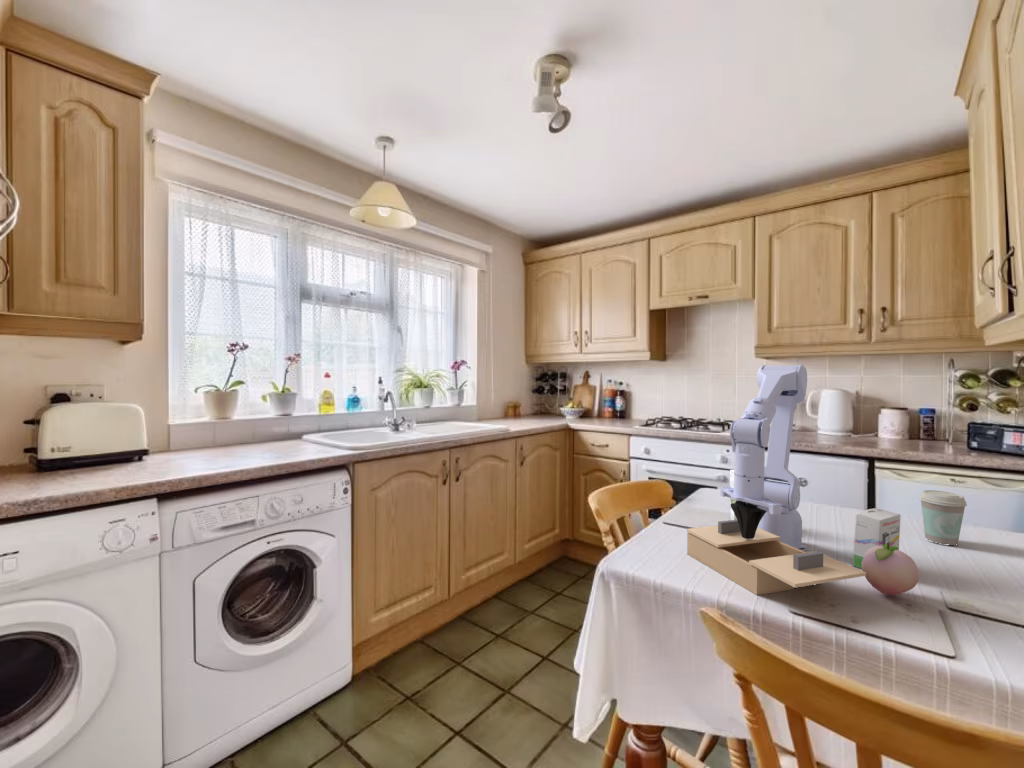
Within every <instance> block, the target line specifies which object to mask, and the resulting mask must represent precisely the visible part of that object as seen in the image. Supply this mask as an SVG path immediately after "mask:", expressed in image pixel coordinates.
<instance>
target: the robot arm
mask: <svg viewBox="0 0 1024 768" xmlns="http://www.w3.org/2000/svg"><path fill="white" fill-rule="evenodd" d="M756 376H757V377H756V381H757V386H758V388H759V390H758V393H757V396H755V397H754V398H752V399H750V401H749V402H748V404H747V406H746V407H745V410H744V411H743V412H742V415H741V417H740V418H737V419H736V420H733V421H732V423H731V426H730V432H729V436H730V437H729V438H730V442H731V450H732V452H733V453H734V462H733V463H734V466H733V468H734V469H733V470H734V488H730V486H723V487H720V493H719V494H720V496H721V497H727V498H729V499H730V498H731V499H733V500H736V502H735V503H732V504H731V508H732V510H733V511H734V513H735V515H736V518H737V520H738V523H739V527H740V531H741V535H742V537H743V538H745V539H753V538H754V536H755V533H756V530H757V528H760V529H762V530H764V531H767V532H769V533H772V534H774V535H777V536H779V537H780V540H778V541H780V542H783V543H785V544H787V545H790V546H792V547H794V548H797V549H799V550H800V549H805V548H806V546H805V545H804V544H803V542H802V541H803V520H802V519H803V518H802V516H801V514H800V513H799V511H798V510H797V509H798V508H799V506H800V503H801V501H800V500H801V489H800V488H801V482H800V479H799V478H798V476H796V475H795V474H794V473H792V472H791V471H790V470H789V463H790V462H789V461H790V454H791V445H792V437H793V436H792V435H793V429H794V428H793V427H794V419H795V412H796V410H797V409H796V408H797V405H798V404H799V403H802V402H804V401H805V398H806V395H807V388H808V372H807V368H806V367H805V366H804V365H803V364H798V365H765V364H763V365H762V364H761V365H760V367H759V368H758V370H757V374H756ZM766 447H767V453H766ZM765 454H766V455H765ZM765 456H766V457H765ZM765 458H766V460H765Z"/></svg>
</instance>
